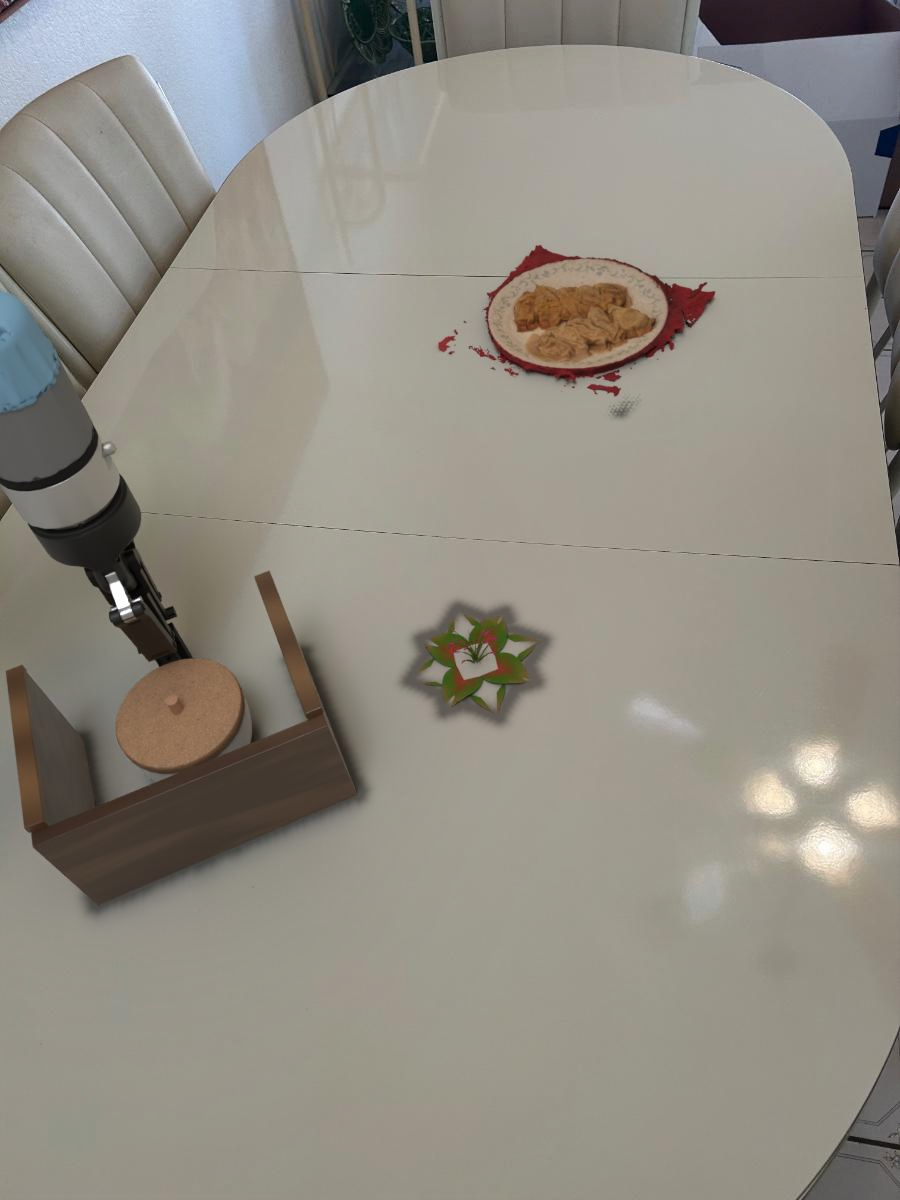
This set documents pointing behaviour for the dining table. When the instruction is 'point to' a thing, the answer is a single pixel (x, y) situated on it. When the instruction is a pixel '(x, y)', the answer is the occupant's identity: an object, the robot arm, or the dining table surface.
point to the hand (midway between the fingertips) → (184, 674)
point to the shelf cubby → (170, 787)
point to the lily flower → (480, 634)
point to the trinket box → (182, 717)
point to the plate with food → (584, 316)
